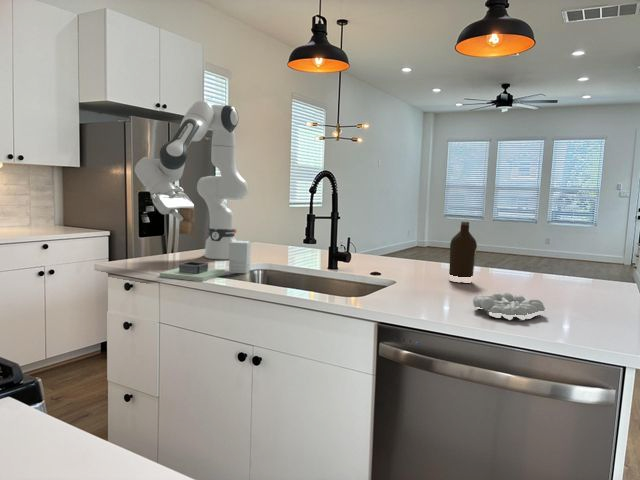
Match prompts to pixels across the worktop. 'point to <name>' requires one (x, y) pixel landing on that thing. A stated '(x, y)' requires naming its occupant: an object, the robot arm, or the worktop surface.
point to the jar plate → (189, 276)
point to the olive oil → (462, 253)
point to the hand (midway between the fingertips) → (186, 219)
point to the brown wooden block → (187, 221)
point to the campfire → (508, 304)
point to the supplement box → (239, 256)
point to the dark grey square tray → (193, 267)
